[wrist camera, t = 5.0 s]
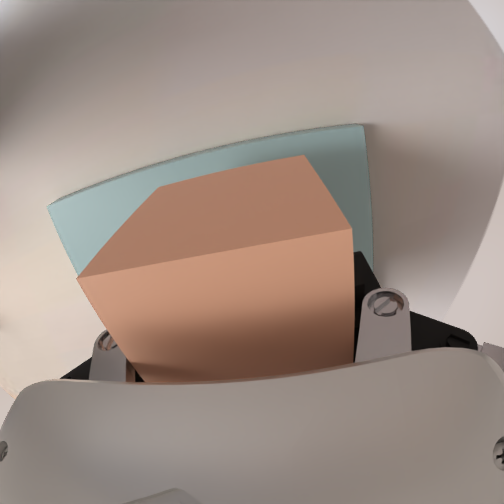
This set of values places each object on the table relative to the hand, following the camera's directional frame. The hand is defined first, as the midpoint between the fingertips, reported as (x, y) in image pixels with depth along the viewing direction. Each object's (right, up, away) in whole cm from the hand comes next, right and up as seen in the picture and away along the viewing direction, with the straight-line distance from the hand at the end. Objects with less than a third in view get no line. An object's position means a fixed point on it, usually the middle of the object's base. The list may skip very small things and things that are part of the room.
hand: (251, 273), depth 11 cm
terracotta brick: (0, 0, +1) cm, 1 cm away
